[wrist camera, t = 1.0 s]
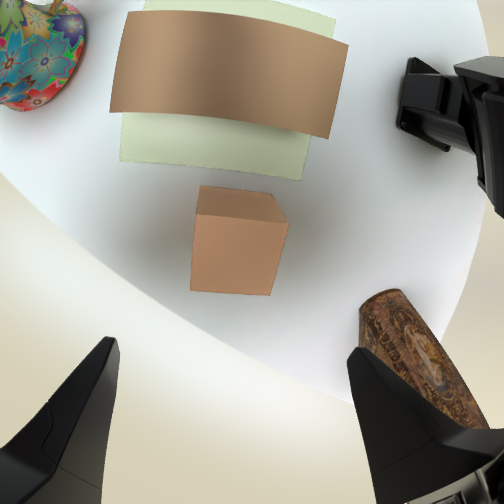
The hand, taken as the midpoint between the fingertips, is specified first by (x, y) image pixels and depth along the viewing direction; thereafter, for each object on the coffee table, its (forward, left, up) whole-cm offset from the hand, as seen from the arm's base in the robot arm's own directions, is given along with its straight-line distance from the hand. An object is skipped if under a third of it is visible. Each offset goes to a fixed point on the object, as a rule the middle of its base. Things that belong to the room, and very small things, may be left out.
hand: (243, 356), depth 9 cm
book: (-20, +14, -12) cm, 27 cm away
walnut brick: (+2, -9, -11) cm, 15 cm away
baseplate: (+2, -9, -12) cm, 15 cm away
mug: (+14, -12, -12) cm, 23 cm away
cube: (0, +1, -12) cm, 12 cm away
